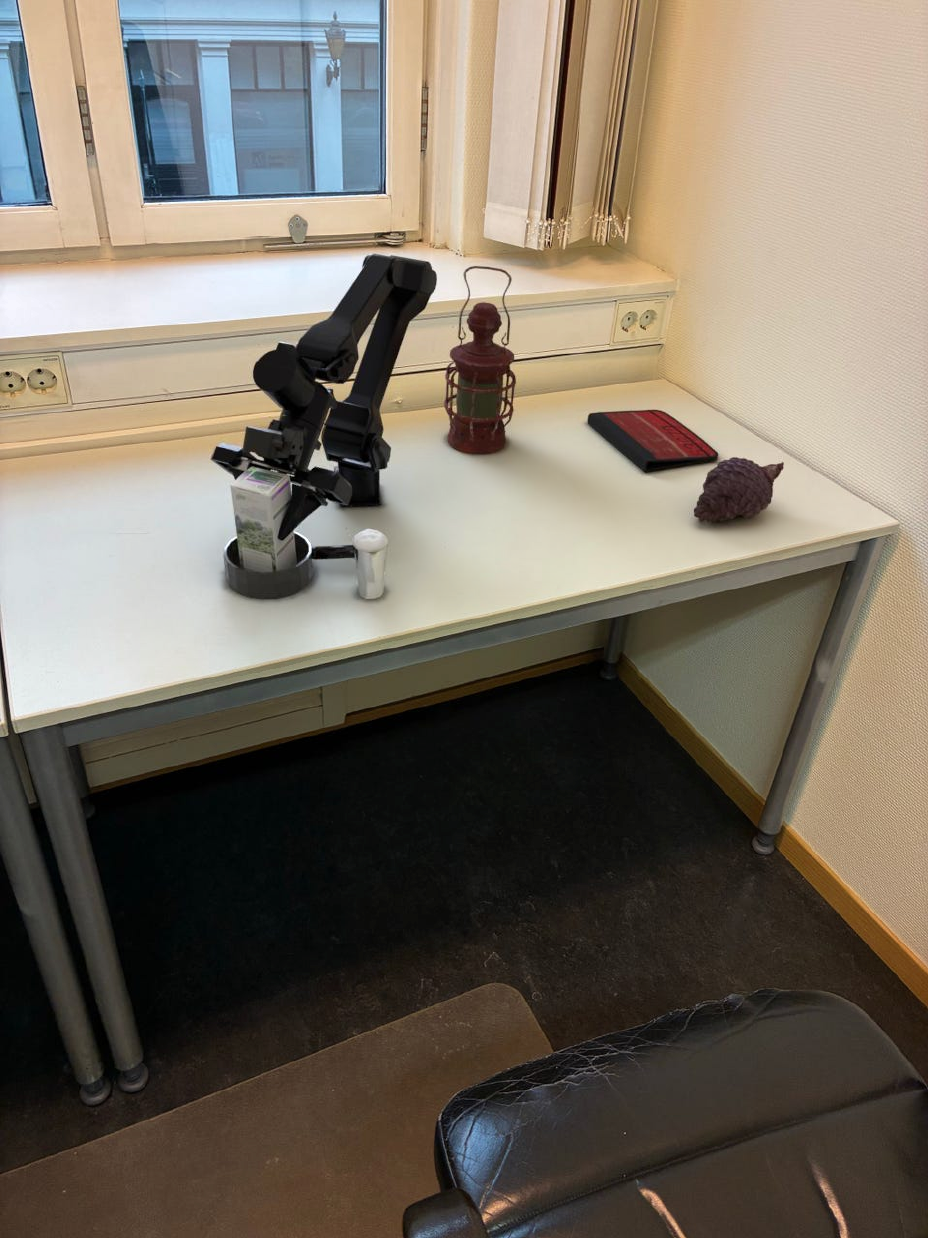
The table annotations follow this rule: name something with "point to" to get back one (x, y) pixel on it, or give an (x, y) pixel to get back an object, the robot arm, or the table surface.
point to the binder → (652, 438)
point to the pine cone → (736, 490)
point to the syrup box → (262, 520)
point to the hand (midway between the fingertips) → (259, 533)
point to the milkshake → (370, 562)
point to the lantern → (480, 381)
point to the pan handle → (332, 552)
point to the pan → (269, 573)
